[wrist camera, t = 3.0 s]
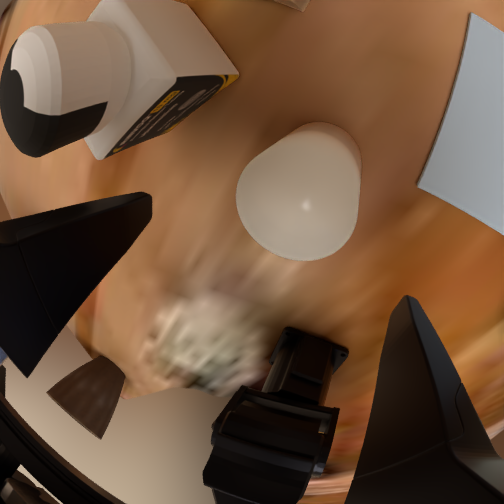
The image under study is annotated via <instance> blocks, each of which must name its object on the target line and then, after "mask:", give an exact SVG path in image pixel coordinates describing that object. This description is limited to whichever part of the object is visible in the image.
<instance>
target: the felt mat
mask: <svg viewBox="0 0 504 504" xmlns="http://www.w3.org/2000/svg"><path fill="white" fill-rule="evenodd" d="M417 187H419V188H421V189H423V190H425V191H427V192H429V193H431V194H433V195H435V196H437V197H439V198H440V199H442V200H444V201H446V202H448V203H450V204H452V205H454V206H455V207H457V208H459V209H461V210H463V211H464V212H466V213H468V214H470V215H471V216H473V217H475V218H477V219H478V220H480V221H482V222H483V223H485V224H487V225H488V226H490V227H491V228H493V229H495V230H496V231H498V232H499V233H501V234H502V235H504V33H503V32H502V31H500V30H499V29H498V28H496V27H495V26H493V25H492V24H490V23H488V22H487V21H485V20H484V19H482V18H480V17H479V16H477V15H475V14H474V13H470V15H469V21H468V26H467V32H466V37H465V41H464V46H463V50H462V55H461V59H460V63H459V67H458V71H457V74H456V78H455V82H454V85H453V88H452V92H451V95H450V98H449V101H448V105H447V108H446V111H445V114H444V117H443V120H442V122H441V125H440V128H439V131H438V134H437V136H436V139H435V142H434V144H433V147H432V149H431V152H430V154H429V157H428V159H427V162H426V164H425V167H424V169H423V172H422V174H421V176H420V178H419V181H418V183H417Z"/></svg>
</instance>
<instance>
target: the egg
mask: <svg viewBox="0 0 504 504" xmlns="http://www.w3.org/2000/svg"><path fill="white" fill-rule="evenodd" d="M361 172H362V158H361V153H360V150H359V148H358V146H357V144H356V142H355V141H354V139H353V138H352V137H351V136H350V135H349V134H348V133H347V132H346V131H344V130H343V129H342V128H340V127H338V126H336V125H333V124H330V123H326V122H312V123H308V124H305V125H302V126H300V127H299V128H297V129H296V130H294V131H293V132H291V133H290V134H288V135H287V136H285V137H284V138H282V139H281V140H279V141H278V142H276V143H275V144H273V145H272V146H270V147H269V148H268V149H266V150H265V151H263V152H262V153H260V154H259V155H258V156H256V157H255V158H254V159H253V160H251V161H250V162H249V163H248V165H247V166H246V167H245V168H244V170H243V172H242V173H241V176H240V178H239V180H238V184H237V189H236V204H237V210H238V213H239V216H240V219H241V221H242V223H243V225H244V227H245V229H246V230H247V231H248V233H249V234H250V235H251V236H252V238H253V239H254V240H255V241H256V242H257V243H259V244H260V245H261V246H262V247H264V248H265V249H266V250H268V251H270V252H272V253H273V254H276V255H278V256H280V257H283V258H286V259H291V260H297V261H311V260H317V259H321V258H324V257H327V256H329V255H331V254H333V253H335V252H336V251H337V250H339V249H340V248H341V247H342V246H343V245H344V244H345V243H346V242H347V241H348V239H349V238H350V236H351V235H352V233H353V231H354V228H355V225H356V221H357V216H358V206H359V196H360V185H361Z"/></svg>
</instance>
